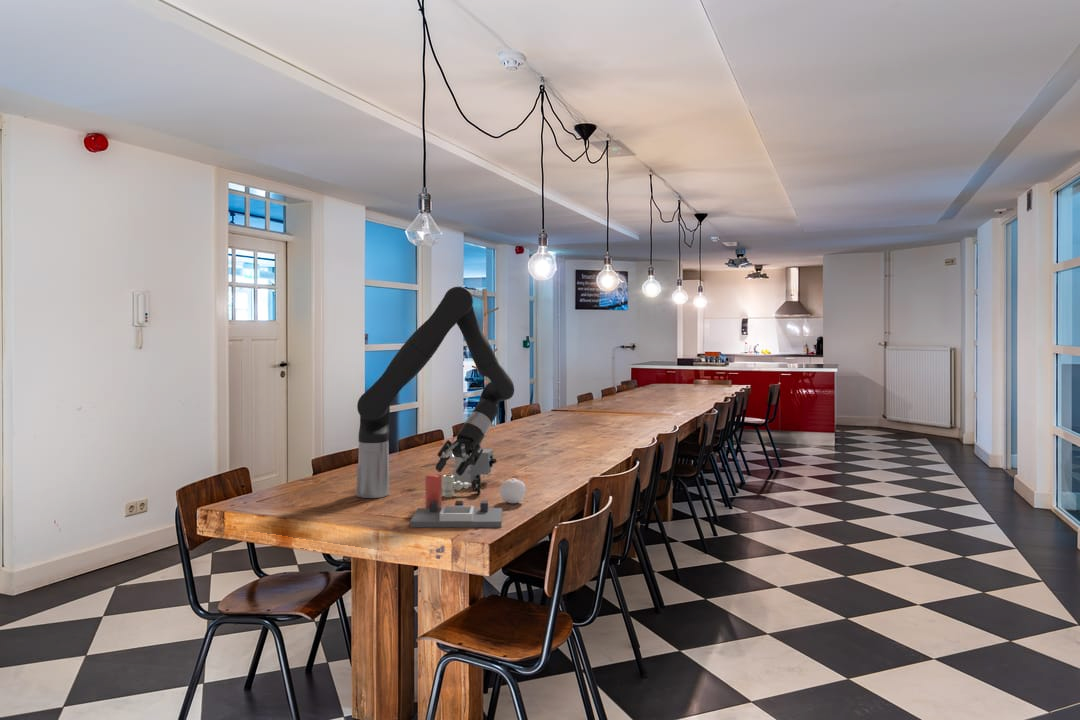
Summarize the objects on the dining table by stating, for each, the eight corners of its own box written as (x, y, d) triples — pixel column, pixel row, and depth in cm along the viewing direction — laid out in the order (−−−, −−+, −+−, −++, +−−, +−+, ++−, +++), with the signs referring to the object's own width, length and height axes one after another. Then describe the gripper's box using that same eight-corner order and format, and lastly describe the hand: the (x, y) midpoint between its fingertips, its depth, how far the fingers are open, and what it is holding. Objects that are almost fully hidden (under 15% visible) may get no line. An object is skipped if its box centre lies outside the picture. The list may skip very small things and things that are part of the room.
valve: (442, 499, 206) (481, 497, 209) (442, 478, 206) (481, 476, 209) (440, 494, 213) (477, 492, 216) (440, 473, 213) (478, 472, 215)
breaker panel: (409, 527, 175) (410, 512, 174) (417, 513, 189) (417, 499, 188) (501, 527, 176) (501, 512, 175) (502, 513, 190) (502, 499, 189)
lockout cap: (424, 511, 190) (424, 477, 190) (426, 507, 195) (426, 474, 195) (440, 511, 190) (440, 477, 190) (442, 507, 195) (442, 474, 195)
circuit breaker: (492, 485, 225) (493, 441, 225) (452, 484, 227) (452, 440, 227) (497, 481, 233) (498, 438, 232) (458, 479, 235) (458, 437, 234)
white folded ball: (524, 499, 206) (524, 475, 206) (527, 505, 198) (527, 480, 198) (498, 500, 205) (498, 475, 205) (500, 506, 197) (500, 480, 197)
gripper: (452, 420, 208) (424, 461, 199) (485, 424, 199) (458, 467, 190) (463, 435, 212) (437, 476, 203) (497, 439, 204) (471, 483, 195)
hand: (447, 472), depth 197 cm, fingers open, 8 cm apart
